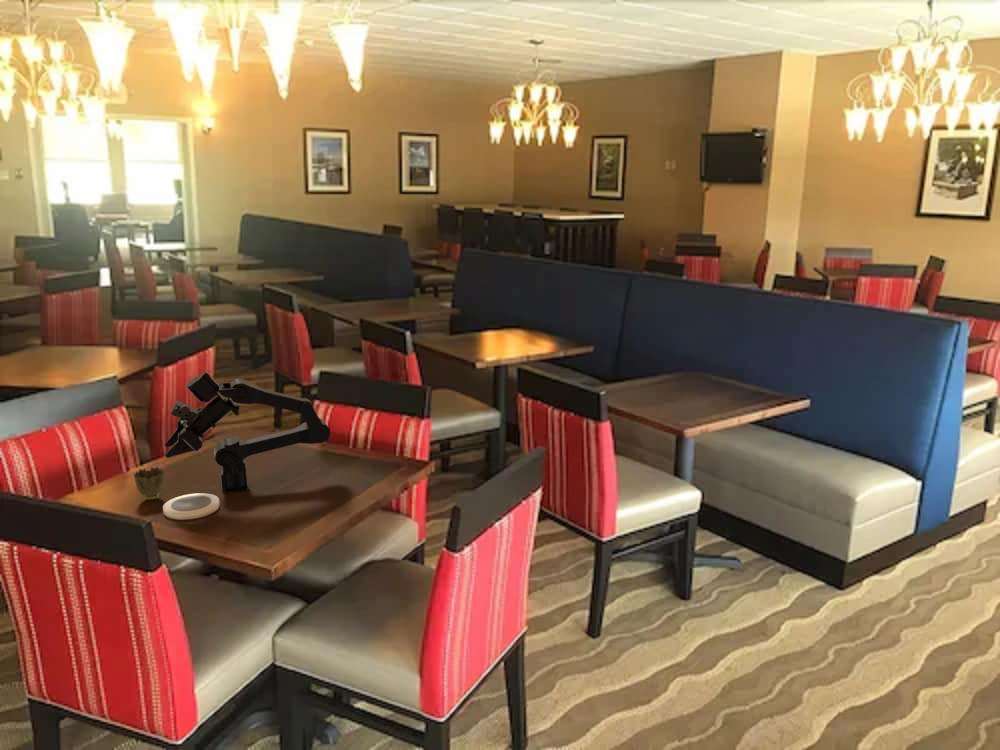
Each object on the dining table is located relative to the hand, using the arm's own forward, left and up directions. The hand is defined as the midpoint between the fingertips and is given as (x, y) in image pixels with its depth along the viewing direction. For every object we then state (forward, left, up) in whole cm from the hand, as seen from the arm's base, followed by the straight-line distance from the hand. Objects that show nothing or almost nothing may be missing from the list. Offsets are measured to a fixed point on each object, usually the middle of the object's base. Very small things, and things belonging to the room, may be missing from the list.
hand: (165, 451), depth 219 cm
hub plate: (-5, +11, -13) cm, 18 cm away
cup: (+5, 0, -13) cm, 14 cm away
